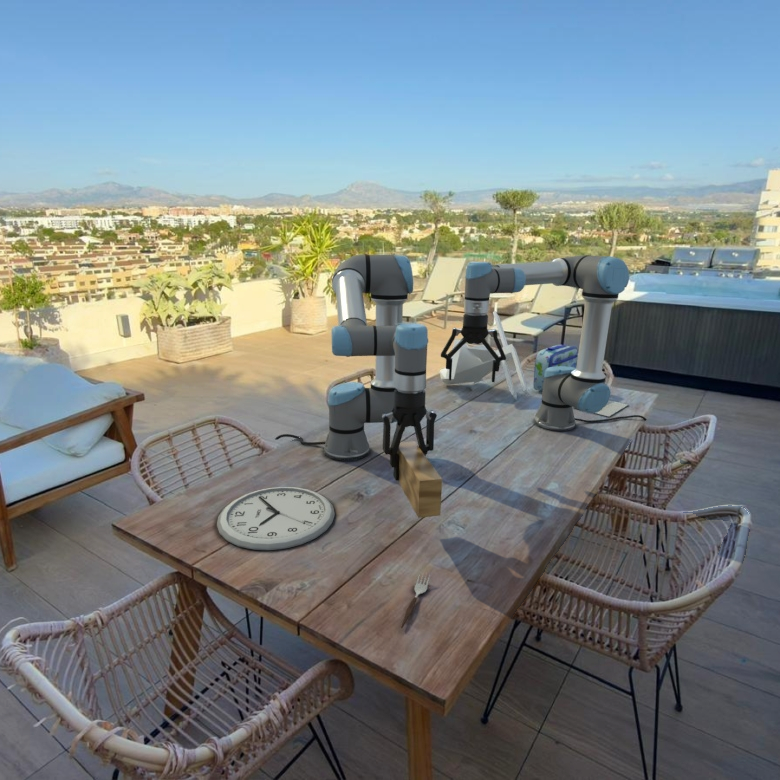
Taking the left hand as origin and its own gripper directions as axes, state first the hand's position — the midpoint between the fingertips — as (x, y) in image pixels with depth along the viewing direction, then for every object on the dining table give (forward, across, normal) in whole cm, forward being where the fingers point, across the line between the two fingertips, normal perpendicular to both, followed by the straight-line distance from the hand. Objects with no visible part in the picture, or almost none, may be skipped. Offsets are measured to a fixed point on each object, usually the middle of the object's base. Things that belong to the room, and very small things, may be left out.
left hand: (407, 476), depth 132 cm
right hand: (-14, -30, -34) cm, 48 cm away
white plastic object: (+13, -63, -100) cm, 119 cm away
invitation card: (+13, -107, -71) cm, 129 cm away
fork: (+13, +7, +30) cm, 34 cm away
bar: (+1, 0, +8) cm, 8 cm away
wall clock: (+13, +32, -9) cm, 36 cm away
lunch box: (+13, -100, -98) cm, 141 cm away
